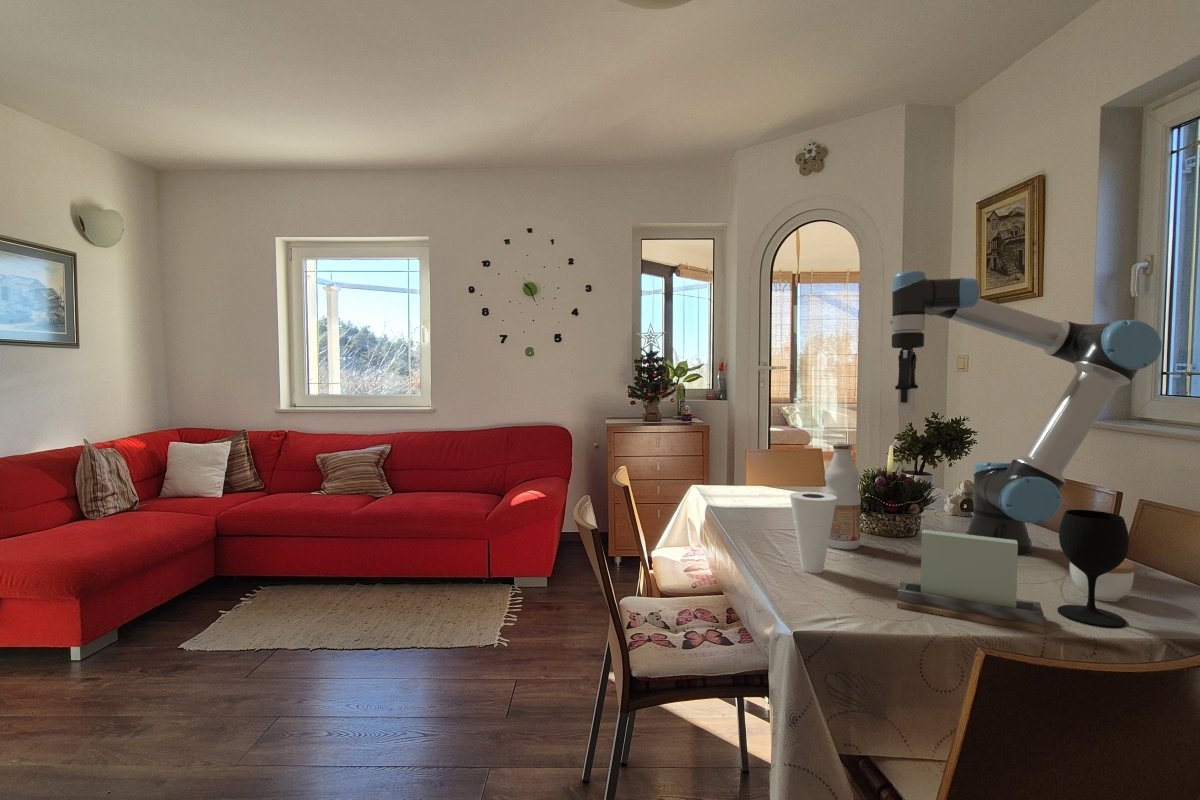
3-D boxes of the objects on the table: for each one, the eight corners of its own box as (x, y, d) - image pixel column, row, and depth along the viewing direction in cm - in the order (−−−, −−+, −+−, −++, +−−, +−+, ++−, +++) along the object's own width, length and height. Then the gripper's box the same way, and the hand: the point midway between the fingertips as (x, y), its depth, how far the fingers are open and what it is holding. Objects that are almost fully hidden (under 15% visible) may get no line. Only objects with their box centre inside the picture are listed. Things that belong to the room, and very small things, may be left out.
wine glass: (1140, 630, 110) (1143, 522, 109) (1075, 625, 112) (1078, 519, 111) (1104, 608, 120) (1107, 509, 120) (1046, 604, 122) (1048, 507, 122)
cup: (843, 569, 145) (844, 495, 144) (825, 580, 137) (825, 502, 137) (800, 560, 152) (801, 490, 152) (781, 570, 145) (782, 496, 144)
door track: (1038, 615, 117) (1039, 599, 117) (1044, 633, 109) (1044, 617, 109) (901, 592, 130) (901, 578, 130) (896, 607, 121) (897, 592, 121)
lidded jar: (1055, 587, 133) (1056, 545, 132) (1105, 587, 132) (1106, 545, 132) (1094, 605, 122) (1095, 560, 122) (1148, 606, 122) (1150, 560, 121)
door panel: (1015, 611, 116) (1016, 540, 116) (1016, 617, 114) (1017, 543, 113) (921, 596, 125) (922, 529, 124) (920, 600, 122) (921, 532, 122)
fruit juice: (836, 551, 160) (837, 446, 159) (816, 541, 170) (817, 443, 169) (867, 548, 162) (868, 445, 161) (846, 539, 172) (847, 442, 171)
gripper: (896, 335, 168) (895, 411, 169) (886, 330, 147) (884, 416, 148) (927, 334, 164) (925, 412, 165) (920, 328, 143) (919, 417, 144)
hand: (906, 414), depth 156 cm, fingers open, 13 cm apart
